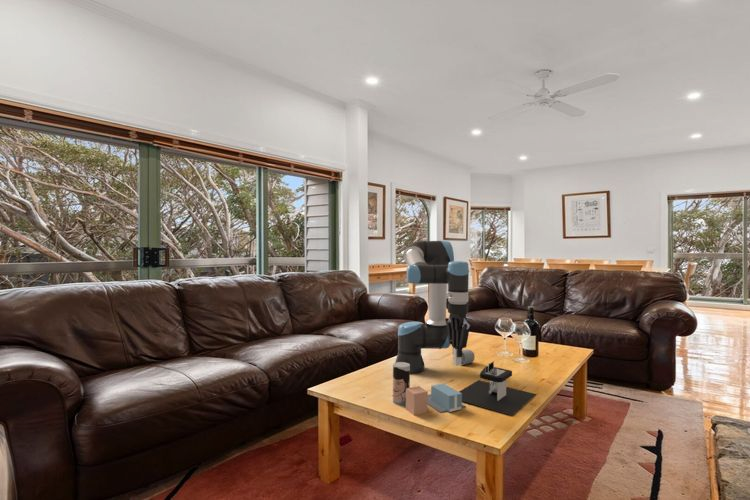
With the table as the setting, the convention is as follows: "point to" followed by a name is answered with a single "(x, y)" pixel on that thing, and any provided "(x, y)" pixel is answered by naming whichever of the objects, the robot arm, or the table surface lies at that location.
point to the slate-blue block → (446, 397)
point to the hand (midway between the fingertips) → (457, 364)
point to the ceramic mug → (467, 357)
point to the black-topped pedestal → (495, 392)
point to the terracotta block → (416, 400)
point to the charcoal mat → (437, 405)
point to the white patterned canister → (400, 382)
